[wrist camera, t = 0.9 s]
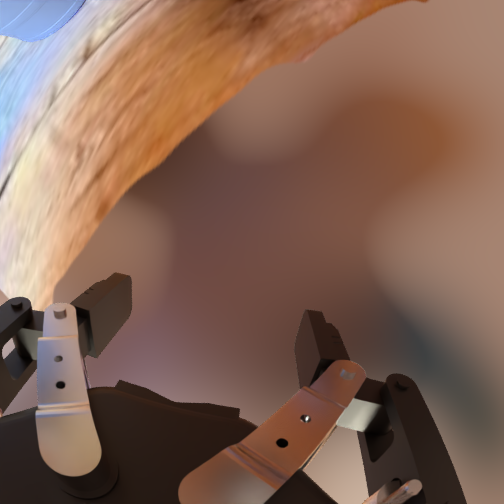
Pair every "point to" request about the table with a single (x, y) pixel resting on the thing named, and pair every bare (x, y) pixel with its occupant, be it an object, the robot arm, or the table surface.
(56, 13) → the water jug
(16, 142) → the table surface
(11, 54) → the table surface
